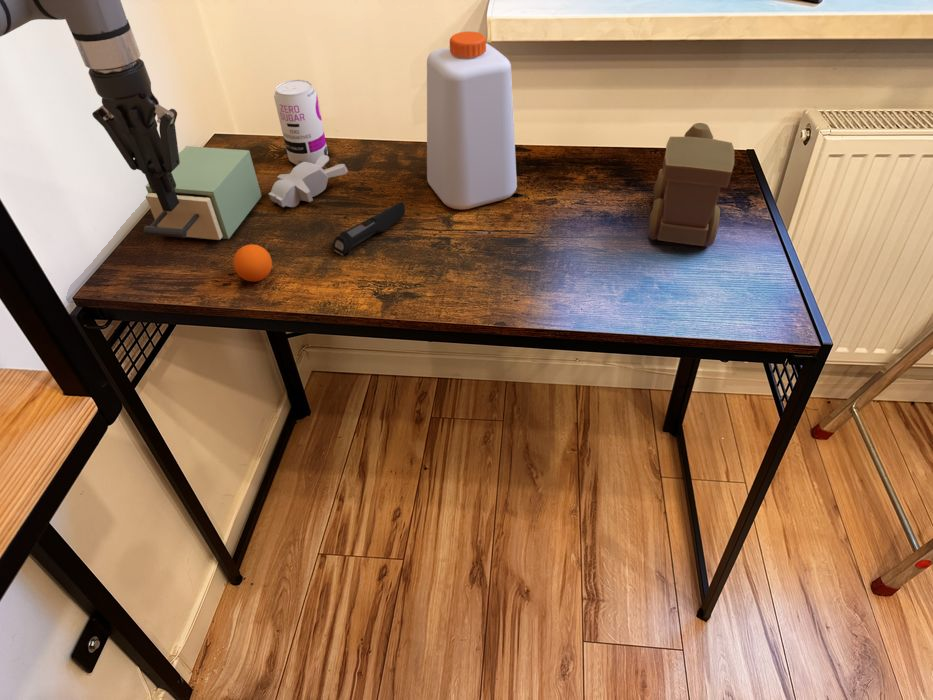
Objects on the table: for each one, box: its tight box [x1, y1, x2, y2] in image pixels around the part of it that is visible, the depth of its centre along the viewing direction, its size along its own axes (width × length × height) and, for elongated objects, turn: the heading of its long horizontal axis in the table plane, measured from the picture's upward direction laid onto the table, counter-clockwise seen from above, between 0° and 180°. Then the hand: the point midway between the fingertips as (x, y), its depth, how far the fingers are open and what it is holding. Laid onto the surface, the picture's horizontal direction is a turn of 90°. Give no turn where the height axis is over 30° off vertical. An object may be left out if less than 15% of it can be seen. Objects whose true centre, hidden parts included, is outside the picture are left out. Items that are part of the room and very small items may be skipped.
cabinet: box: [145, 145, 263, 240], centre depth 122 cm, size 15×13×10 cm
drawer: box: [143, 192, 223, 241], centre depth 118 cm, size 20×11×8 cm, turn 169°
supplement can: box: [273, 79, 329, 166], centre depth 135 cm, size 8×8×15 cm
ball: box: [232, 243, 273, 283], centre depth 109 cm, size 6×6×6 cm
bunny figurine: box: [268, 154, 349, 208], centre depth 128 cm, size 10×5×15 cm
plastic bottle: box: [426, 31, 518, 210], centre depth 120 cm, size 15×15×28 cm
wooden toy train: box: [647, 122, 735, 248], centre depth 113 cm, size 20×11×17 cm, turn 164°
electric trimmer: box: [332, 201, 406, 256], centre depth 118 cm, size 4×16×3 cm, turn 137°
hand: (171, 206), depth 112 cm, fingers closed
